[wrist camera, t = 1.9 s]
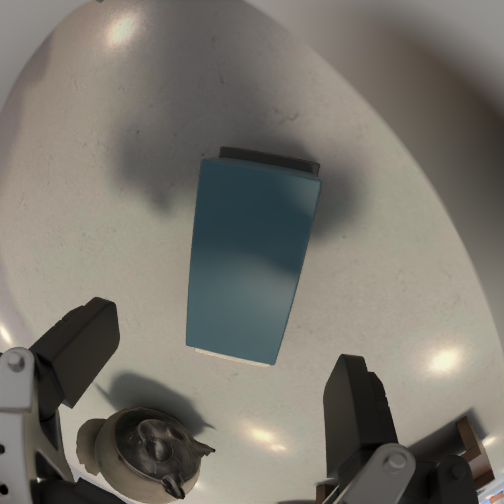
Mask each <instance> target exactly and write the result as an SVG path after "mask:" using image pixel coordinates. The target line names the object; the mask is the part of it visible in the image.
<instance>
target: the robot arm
mask: <svg viewBox="0 0 504 504" xmlns="http://www.w3.org/2000/svg"><path fill="white" fill-rule="evenodd" d="M119 341H120V333H119V325H118V317H117V308H116V304H115V303H114V302H112V301H109V300H106V299H103V298H100V297H94V298H93V299H92V300H90V301H89V302H88V303H87V304H86V305H85V306H80V307H78V308H75V309H73V310H71V311H70V312H68V313H67V314H66V315H65V316H64V317H63V318H62V320H59V321H58V322H57V323H56V324H55V326H53V327H52V328H50V329H49V330H48V331H47V332H46V333H45V334H44V335H43V336H42V337H41V338H40V339H39V340H38V341H36V342H35V343H34V344H33V345H32V346H31V347H30V348H29V349H26V348H23V347H15V348H11V349H9V350H7V351H6V352H4V353H0V504H127V503H125V502H124V501H122V500H121V499H120V498H118V497H117V496H115V495H114V494H112V493H110V492H108V491H106V490H103V489H101V488H99V487H98V486H96V485H94V484H92V483H90V482H88V481H86V480H84V479H82V478H81V477H80V478H79V479H78V481H77V483H76V482H74V478H73V475H72V472H71V469H70V467H69V465H68V463H67V460H66V458H65V454H64V448H63V441H62V434H61V425H60V415H59V410H58V407H59V406H60V404H61V403H62V404H64V405H66V406H68V407H69V408H71V409H72V408H73V407H74V406H75V404H76V403H77V402H78V400H79V399H80V397H81V396H82V395H83V393H84V392H85V391H86V389H87V388H88V387H89V385H90V384H91V383H92V381H93V380H94V379H95V377H96V376H97V375H98V373H99V372H100V371H101V369H102V368H103V367H104V365H105V364H106V363H107V361H108V360H109V359H110V357H111V356H112V355H113V354H114V352H115V351H116V349H117V347H118V345H119ZM385 395H386V394H385V390H384V387H383V384H382V382H381V381H380V379H379V378H378V377H377V375H376V374H375V373H374V372H368V371H367V367H366V363H365V360H364V358H363V357H362V356H355V355H347V354H341V355H340V356H339V358H338V360H337V362H336V365H335V367H334V369H333V371H332V373H331V375H330V377H329V379H328V381H327V383H326V386H325V390H324V395H323V405H324V420H325V438H326V462H327V478H338V482H339V485H338V486H337V487H336V488H335V489H334V491H333V492H332V493H331V494H330V495H329V496H328V497H327V498H326V500H325V501H324V502H323V503H322V504H479V502H478V497H477V492H476V487H475V483H474V479H473V475H472V471H471V468H470V465H469V463H468V462H467V461H466V460H465V459H464V458H463V457H461V456H458V455H450V456H447V457H445V458H444V459H443V460H442V461H440V462H439V463H438V464H437V463H431V462H425V461H420V460H416V459H415V458H414V456H413V454H412V453H411V451H410V450H409V449H408V448H406V447H405V446H403V445H400V444H399V443H398V439H397V435H396V431H395V427H394V423H393V419H392V415H391V412H390V408H389V407H388V401H387V397H385Z"/></svg>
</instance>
